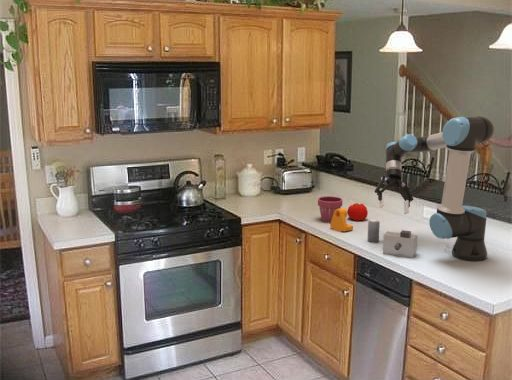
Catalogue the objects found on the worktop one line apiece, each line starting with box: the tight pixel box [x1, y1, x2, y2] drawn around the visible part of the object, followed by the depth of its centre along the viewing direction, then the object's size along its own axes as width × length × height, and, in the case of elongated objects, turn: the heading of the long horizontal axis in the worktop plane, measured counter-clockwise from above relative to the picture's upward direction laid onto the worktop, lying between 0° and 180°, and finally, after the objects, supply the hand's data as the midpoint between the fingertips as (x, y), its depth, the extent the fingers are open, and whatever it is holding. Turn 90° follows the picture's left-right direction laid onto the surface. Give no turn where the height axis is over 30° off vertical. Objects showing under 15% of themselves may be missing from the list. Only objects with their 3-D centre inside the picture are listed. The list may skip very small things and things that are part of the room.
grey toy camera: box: [382, 229, 418, 259], centre depth 251 cm, size 14×20×11 cm
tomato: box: [347, 202, 369, 222], centre depth 308 cm, size 11×12×9 cm
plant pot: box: [317, 195, 343, 223], centre depth 306 cm, size 14×14×13 cm
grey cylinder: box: [367, 218, 381, 243], centre depth 267 cm, size 6×6×11 cm
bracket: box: [329, 207, 354, 232], centre depth 287 cm, size 11×7×12 cm, turn 37°
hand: (394, 210), depth 254 cm, fingers open, 13 cm apart
